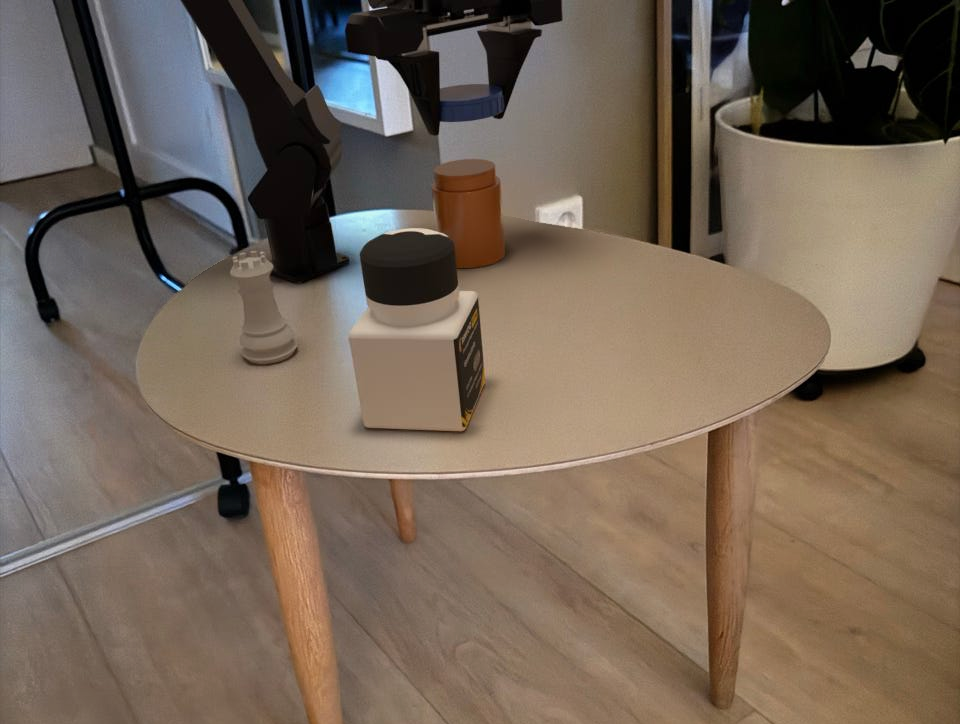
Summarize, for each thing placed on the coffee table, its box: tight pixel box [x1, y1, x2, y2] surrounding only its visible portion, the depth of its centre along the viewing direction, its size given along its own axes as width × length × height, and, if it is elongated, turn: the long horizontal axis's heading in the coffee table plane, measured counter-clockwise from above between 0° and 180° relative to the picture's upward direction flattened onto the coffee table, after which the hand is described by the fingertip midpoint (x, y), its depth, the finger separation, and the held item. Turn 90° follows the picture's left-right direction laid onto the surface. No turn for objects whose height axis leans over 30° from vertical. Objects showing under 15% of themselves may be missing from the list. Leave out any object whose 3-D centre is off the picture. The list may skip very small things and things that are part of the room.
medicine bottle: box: [348, 227, 486, 432], centre depth 61 cm, size 7×7×12 cm
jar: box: [430, 158, 506, 269], centre depth 86 cm, size 6×6×8 cm
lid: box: [440, 83, 504, 123], centre depth 80 cm, size 7×7×2 cm
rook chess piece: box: [229, 250, 298, 365], centre depth 71 cm, size 4×4×8 cm
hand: (466, 126), depth 81 cm, fingers closed on lid, 7 cm apart
